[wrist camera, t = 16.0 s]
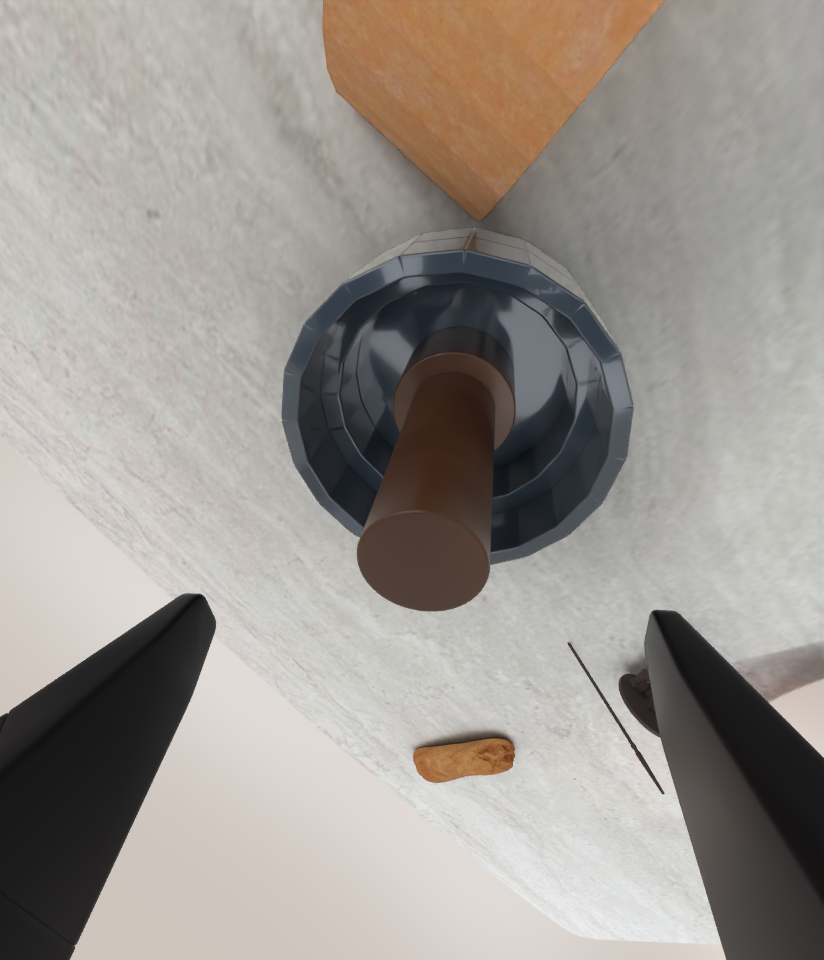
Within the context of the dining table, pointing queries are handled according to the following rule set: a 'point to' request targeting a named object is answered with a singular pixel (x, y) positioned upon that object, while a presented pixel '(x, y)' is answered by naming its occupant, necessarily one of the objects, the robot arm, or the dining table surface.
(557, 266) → the bowl
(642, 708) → the dark disc and stick
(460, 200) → the arch
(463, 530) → the muddler
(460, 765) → the brown rounded lump
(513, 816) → the dining table surface
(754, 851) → the robot arm
